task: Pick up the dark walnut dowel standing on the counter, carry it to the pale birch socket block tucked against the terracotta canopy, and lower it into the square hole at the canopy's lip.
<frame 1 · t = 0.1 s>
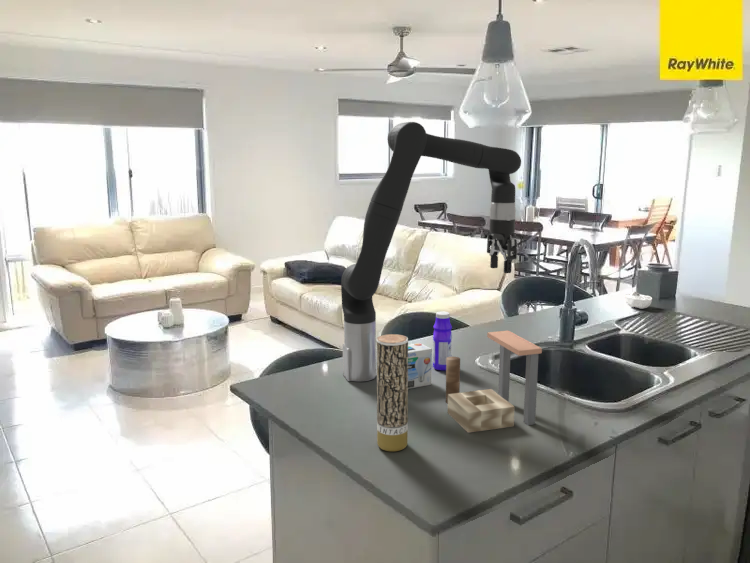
hand: (500, 270, 188), 29 cm above the worktop, tool pointing down, fingers open, 8 cm apart
peg: (452, 402, 162), on the worktop
cell model: (637, 308, 262), on the worktop
socket: (479, 419, 151), on the worktop
paper tube: (392, 446, 138), on the worktop
bottle: (442, 368, 189), on the worktop
light bulb box: (410, 384, 176), on the worktop
awning: (510, 413, 155), on the worktop
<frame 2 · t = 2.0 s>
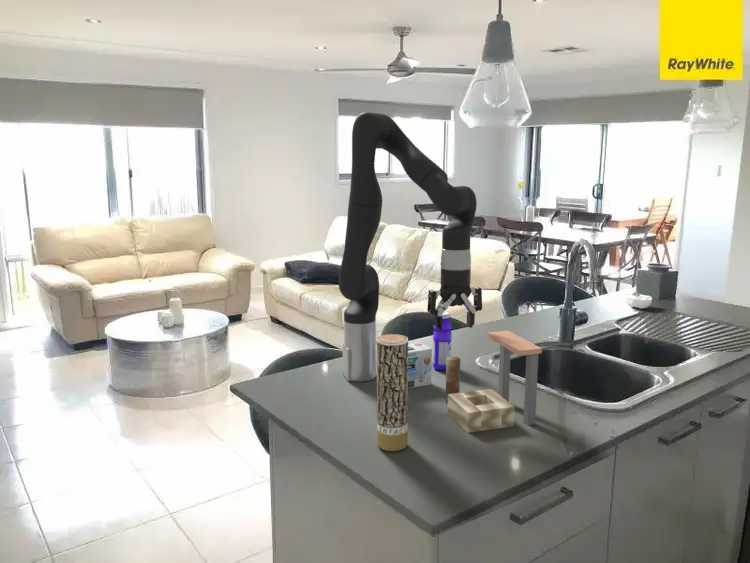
hand: (454, 328, 158), 20 cm above the worktop, tool pointing down, fingers open, 8 cm apart
nothing on the worktop moved.
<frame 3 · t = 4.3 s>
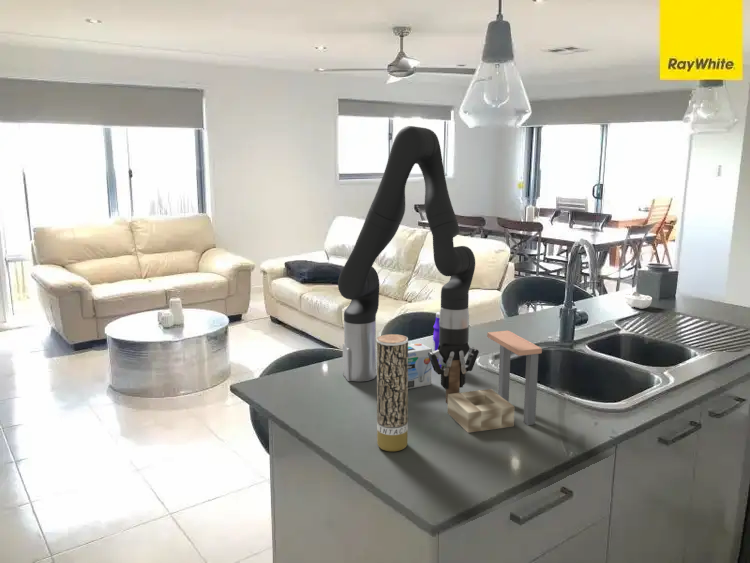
hand: (452, 387, 161), 4 cm above the worktop, tool pointing down, fingers closed on peg, 3 cm apart
peg: (452, 402, 162), on the worktop, touching gripper
everything else where it was.
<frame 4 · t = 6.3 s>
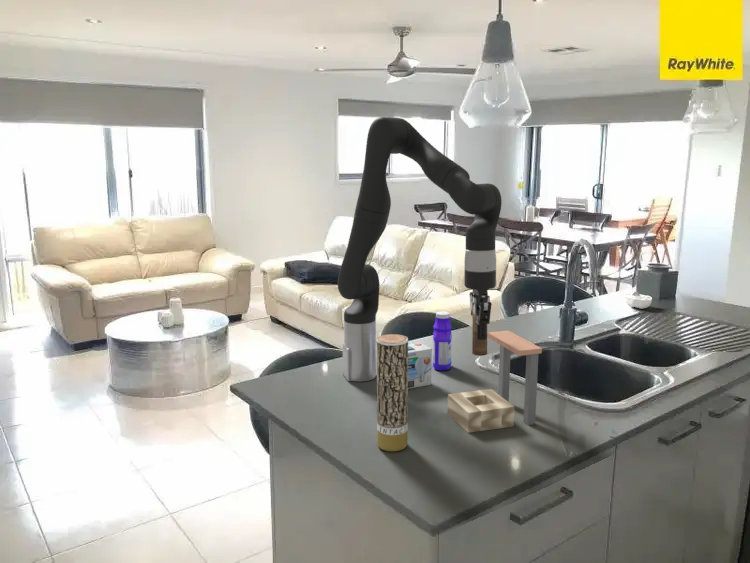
hand: (479, 336, 151), 20 cm above the worktop, tool pointing down, fingers closed on peg, 3 cm apart
peg: (479, 353, 151), point 16 cm above the worktop, touching gripper
everything else where it was.
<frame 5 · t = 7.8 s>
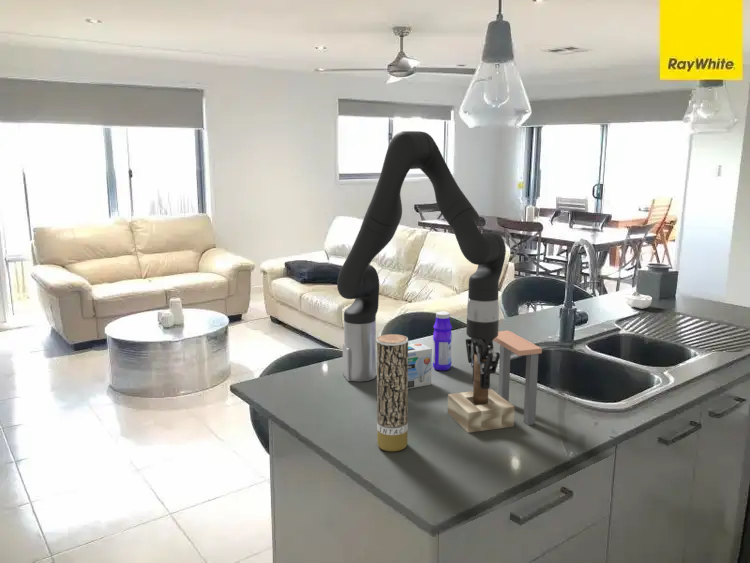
hand: (480, 384, 150), 9 cm above the worktop, tool pointing down, fingers closed on peg, 3 cm apart
peg: (480, 401, 150), point 5 cm above the worktop, touching gripper
everything else where it was.
when the fingers open (6 cm above the worktop, at t = 8.8 s): peg drops 2 cm, resting in socket.
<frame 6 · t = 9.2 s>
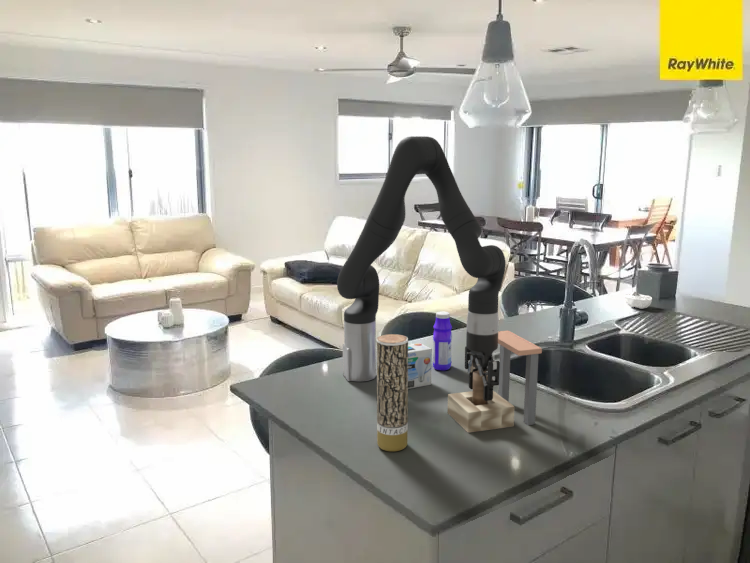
hand: (480, 394, 150), 7 cm above the worktop, tool pointing down, fingers open, 7 cm apart
peg: (479, 419, 152), resting in socket
everything else where it was.
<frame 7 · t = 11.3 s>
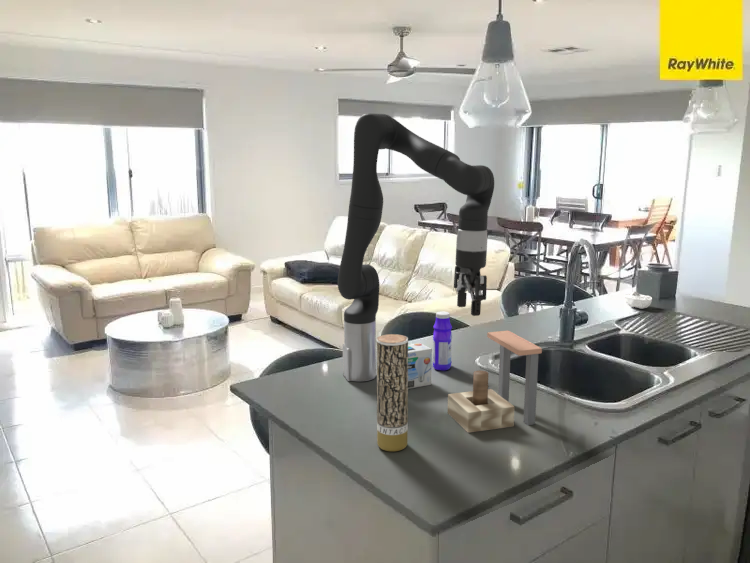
hand: (468, 310, 155), 25 cm above the worktop, tool pointing down, fingers open, 8 cm apart
nothing on the worktop moved.
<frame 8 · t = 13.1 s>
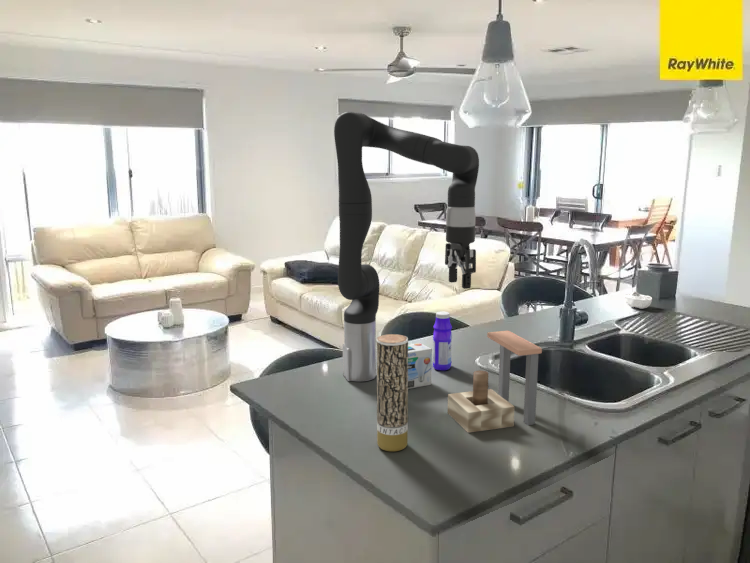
hand: (459, 285, 163), 30 cm above the worktop, tool pointing down, fingers open, 8 cm apart
nothing on the worktop moved.
at the end: peg 0.1 cm off-centre on the socket, point 0.0 cm above the socket's base; peg tilted 0°; the gripper is holding nothing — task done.
